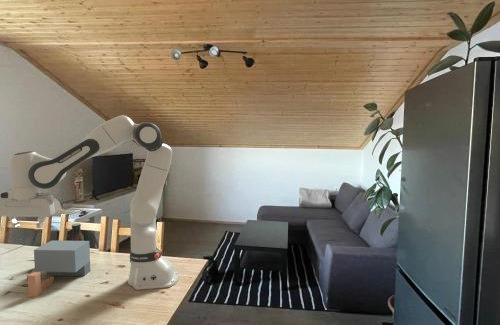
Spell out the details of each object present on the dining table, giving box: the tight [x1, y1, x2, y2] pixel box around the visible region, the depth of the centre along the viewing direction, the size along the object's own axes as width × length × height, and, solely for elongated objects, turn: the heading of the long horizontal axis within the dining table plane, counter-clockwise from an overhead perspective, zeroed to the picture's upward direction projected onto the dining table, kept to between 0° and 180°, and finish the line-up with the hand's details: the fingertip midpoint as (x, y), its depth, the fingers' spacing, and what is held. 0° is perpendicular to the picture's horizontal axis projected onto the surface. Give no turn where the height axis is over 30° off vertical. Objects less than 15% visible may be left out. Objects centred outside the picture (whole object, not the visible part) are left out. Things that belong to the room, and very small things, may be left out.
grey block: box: [33, 239, 91, 277], centre depth 137 cm, size 18×12×15 cm, turn 90°
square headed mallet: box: [27, 271, 55, 298], centre depth 126 cm, size 3×12×9 cm, turn 0°
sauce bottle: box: [69, 222, 85, 241], centre depth 154 cm, size 7×6×20 cm
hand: (27, 227), depth 118 cm, fingers open, 8 cm apart
